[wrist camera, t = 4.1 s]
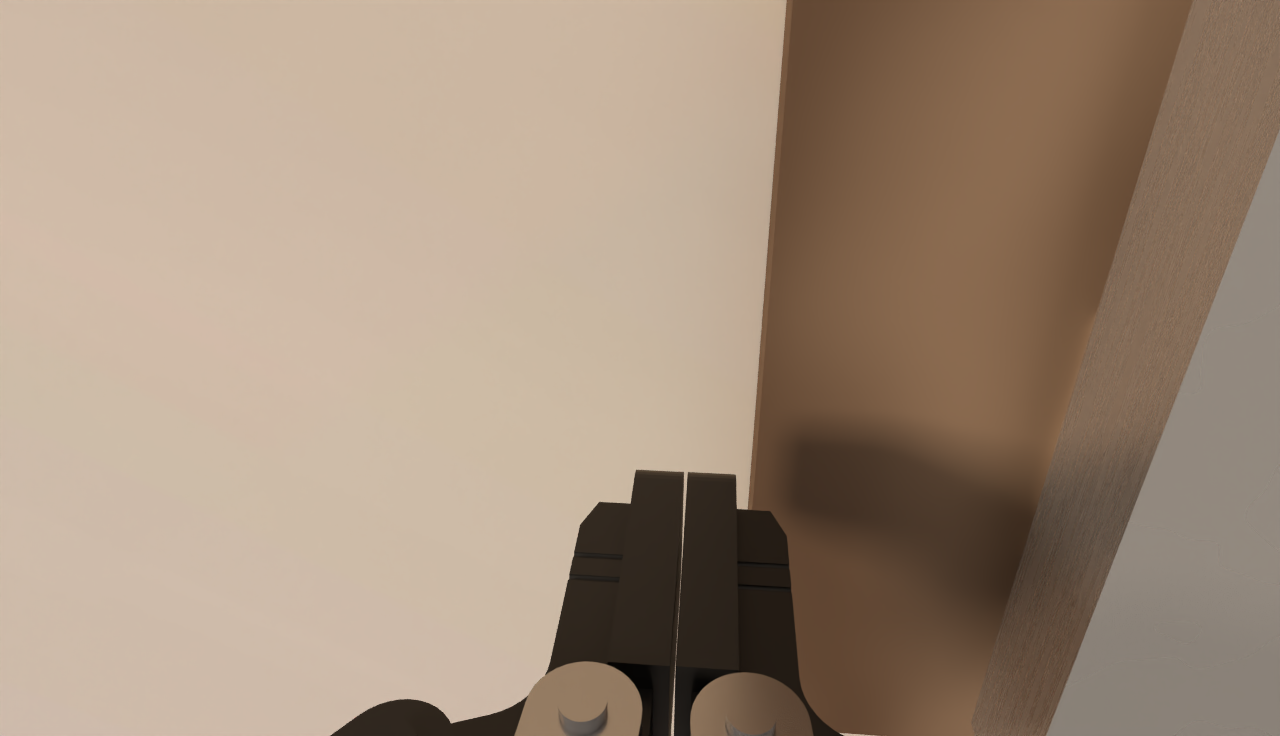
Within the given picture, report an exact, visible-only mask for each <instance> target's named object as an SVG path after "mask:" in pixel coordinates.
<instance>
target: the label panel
mask: <svg viewBox="0 0 1280 736" xmlns="http://www.w3.org/2000/svg"><path fill="white" fill-rule="evenodd" d="M1192 1H1193V0H787V5H786V18H785V31H784V44H783V57H782V70H781V83H780V96H779V109H778V122H777V135H776V148H775V161H774V174H773V188H772V201H771V214H770V227H769V240H768V253H767V266H766V279H765V292H764V305H763V318H762V331H761V344H760V357H759V370H758V383H757V397H756V410H755V423H754V436H753V449H752V462H751V475H750V488H749V501H748V510H761V511H771V513H772V514H773V516H774V517H775V519H776V520H777V522H778V523H779V525H780V526H781V528H782V529H783V531H784V532H785V534H786V535H787V542H788V554H789V570H790V576H791V593H792V599H793V610H794V621H795V632H796V644H797V655H798V666H799V677H800V683H801V688H802V691H803V694H804V696H805V698H806V700H807V702H808V704H809V705H810V707H811V708H812V709H813V711H814V712H815V713H816V715H817V716H818V717H819V718H820V719H821V720H822V721H823V722H824V723H826V724H827V725H828V726H829V727H831V728H832V729H833V730H835V731H836V732H838V733H850V734H864V735H877V736H975V735H974V732H973V728H972V724H971V720H972V717H973V714H974V710H975V707H976V704H977V701H978V697H979V694H980V691H981V688H982V684H983V681H984V678H985V675H986V671H987V668H988V665H989V662H990V658H991V655H992V652H993V649H994V645H995V642H996V639H997V636H998V632H999V629H1000V626H1001V623H1002V619H1003V616H1004V613H1005V610H1006V606H1007V603H1008V600H1009V597H1010V593H1011V590H1012V587H1013V584H1014V580H1015V577H1016V574H1017V571H1018V567H1019V564H1020V561H1021V558H1022V554H1023V551H1024V548H1025V545H1026V541H1027V538H1028V535H1029V532H1030V528H1031V525H1032V522H1033V518H1034V515H1035V512H1036V509H1037V505H1038V502H1039V499H1040V496H1041V492H1042V489H1043V486H1044V483H1045V479H1046V476H1047V473H1048V470H1049V466H1050V463H1051V460H1052V457H1053V453H1054V450H1055V447H1056V444H1057V440H1058V437H1059V434H1060V431H1061V427H1062V424H1063V421H1064V418H1065V414H1066V411H1067V408H1068V405H1069V401H1070V398H1071V395H1072V392H1073V388H1074V385H1075V382H1076V379H1077V375H1078V372H1079V369H1080V366H1081V362H1082V359H1083V356H1084V353H1085V349H1086V346H1087V343H1088V340H1089V336H1090V333H1091V330H1092V327H1093V323H1094V320H1095V317H1096V314H1097V310H1098V307H1099V304H1100V301H1101V297H1102V294H1103V291H1104V288H1105V284H1106V281H1107V278H1108V275H1109V271H1110V268H1111V265H1112V262H1113V258H1114V255H1115V252H1116V249H1117V245H1118V242H1119V239H1120V236H1121V232H1122V229H1123V226H1124V222H1125V219H1126V216H1127V213H1128V209H1129V206H1130V203H1131V200H1132V196H1133V193H1134V190H1135V187H1136V183H1137V180H1138V177H1139V174H1140V170H1141V167H1142V164H1143V161H1144V157H1145V154H1146V151H1147V148H1148V144H1149V141H1150V138H1151V135H1152V131H1153V128H1154V125H1155V122H1156V118H1157V115H1158V112H1159V109H1160V105H1161V102H1162V99H1163V96H1164V92H1165V89H1166V86H1167V83H1168V79H1169V76H1170V73H1171V70H1172V66H1173V63H1174V60H1175V57H1176V53H1177V50H1178V47H1179V44H1180V40H1181V37H1182V34H1183V31H1184V27H1185V24H1186V21H1187V18H1188V14H1189V11H1190V8H1191V5H1192Z"/></svg>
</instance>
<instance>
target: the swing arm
mask: <svg viewBox="0 0 1280 736" xmlns="http://www.w3.org/2000/svg"><path fill="white" fill-rule="evenodd" d="M971 724H972V728H973V732H974V735H975V736H1280V0H1193V1H1192V5H1191V8H1190V11H1189V14H1188V18H1187V21H1186V24H1185V27H1184V31H1183V34H1182V37H1181V40H1180V44H1179V47H1178V50H1177V53H1176V57H1175V60H1174V63H1173V66H1172V70H1171V73H1170V76H1169V79H1168V83H1167V86H1166V89H1165V92H1164V96H1163V99H1162V102H1161V105H1160V109H1159V112H1158V115H1157V118H1156V122H1155V125H1154V128H1153V131H1152V135H1151V138H1150V141H1149V144H1148V148H1147V151H1146V154H1145V157H1144V161H1143V164H1142V167H1141V170H1140V174H1139V177H1138V180H1137V183H1136V187H1135V190H1134V193H1133V196H1132V200H1131V203H1130V206H1129V209H1128V213H1127V216H1126V219H1125V222H1124V226H1123V229H1122V232H1121V236H1120V239H1119V242H1118V245H1117V249H1116V252H1115V255H1114V258H1113V262H1112V265H1111V268H1110V271H1109V275H1108V278H1107V281H1106V284H1105V288H1104V291H1103V294H1102V297H1101V301H1100V304H1099V307H1098V310H1097V314H1096V317H1095V320H1094V323H1093V327H1092V330H1091V333H1090V336H1089V340H1088V343H1087V346H1086V349H1085V353H1084V356H1083V359H1082V362H1081V366H1080V369H1079V372H1078V375H1077V379H1076V382H1075V385H1074V388H1073V392H1072V395H1071V398H1070V401H1069V405H1068V408H1067V411H1066V414H1065V418H1064V421H1063V424H1062V427H1061V431H1060V434H1059V437H1058V440H1057V444H1056V447H1055V450H1054V453H1053V457H1052V460H1051V463H1050V466H1049V470H1048V473H1047V476H1046V479H1045V483H1044V486H1043V489H1042V492H1041V496H1040V499H1039V502H1038V505H1037V509H1036V512H1035V515H1034V518H1033V522H1032V525H1031V528H1030V532H1029V535H1028V538H1027V541H1026V545H1025V548H1024V551H1023V554H1022V558H1021V561H1020V564H1019V567H1018V571H1017V574H1016V577H1015V580H1014V584H1013V587H1012V590H1011V593H1010V597H1009V600H1008V603H1007V606H1006V610H1005V613H1004V616H1003V619H1002V623H1001V626H1000V629H999V632H998V636H997V639H996V642H995V645H994V649H993V652H992V655H991V658H990V662H989V665H988V668H987V671H986V675H985V678H984V681H983V684H982V688H981V691H980V694H979V697H978V701H977V704H976V707H975V710H974V714H973V717H972V720H971Z"/></svg>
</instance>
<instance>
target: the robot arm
mask: <svg viewBox="0 0 1280 736" xmlns="http://www.w3.org/2000/svg"><path fill="white" fill-rule="evenodd" d="M683 491H684V472H670V471H650V470H636V473H635V478H634V485H633V492H632V498H631V504H626V503H608V502H599V503H598V504H597V505H596V507H595V508H594V509H593V510H592V511H591V513H590V514H589V515H588V516H587V517H586V519H585V520H584V521H583V522H582V523H581V525H580V528H579V533H578V537H577V542H576V547H575V551H574V557H573V560H572V565H571V569H570V574H569V580H568V583H567V588H566V592H565V597H564V601H563V606H562V611H561V615H560V620H559V624H558V629H557V633H556V638H555V643H554V647H553V652H552V656H551V661H550V664H549V667H548V670H547V672H546V674H545V676H544V677H542V678H541V679H540V680H539V681H538V682H537V683H536V684H535V686H534V687H533V689H532V690H531V692H530V693H529V695H528V696H527V697H526V698H525V699H523V700H522V701H521V702H519V703H517V704H515V705H514V706H512V707H510V708H508V709H505V710H503V711H501V712H497V713H494V714H491V715H486V716H482V717H478V718H473V719H469V720H464V721H460V722H455V723H450V721H449V719H448V718H447V717H446V715H445V714H444V713H443V712H442V711H441V710H439V709H438V708H437V707H435V706H433V705H431V704H429V703H426V702H423V701H419V700H411V699H404V700H394V701H389V702H386V703H382V704H379V705H377V706H375V707H373V708H370V709H368V710H367V711H365V712H363V713H362V714H360V715H359V716H357V717H356V718H354V719H353V720H352V721H350V722H349V723H347V724H346V725H345V726H343V727H342V728H340V729H339V730H338V731H336V732H335V733H333V734H332V735H331V736H671V723H672V708H673V692H674V676H675V714H674V736H843V735H841V734H840V733H838V732H836V731H835V730H833V729H832V728H831V727H829V726H828V725H827V724H826V723H824V722H823V721H822V720H821V719H820V718H819V717H818V716H817V715H816V713H815V712H814V711H813V709H812V708H811V707H810V705H809V704H808V702H807V700H806V698H805V696H804V694H803V691H802V688H801V683H800V677H799V666H798V655H797V644H796V632H795V621H794V610H793V599H792V593H791V576H790V570H789V554H788V542H787V535H786V534H785V532H784V531H783V529H782V528H781V526H780V525H779V523H778V522H777V520H776V519H775V517H774V516H773V514H772V513H771V511H761V510H742V509H737V505H736V475H733V474H713V473H694V472H688V479H687V494H686V510H685V526H684V542H683V558H682V527H683ZM681 559H682V574H681ZM680 581H681V590H680ZM679 598H680V606H679ZM678 613H679V622H678ZM677 629H678V638H677ZM676 645H677V654H676ZM675 661H676V675H675Z"/></svg>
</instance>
